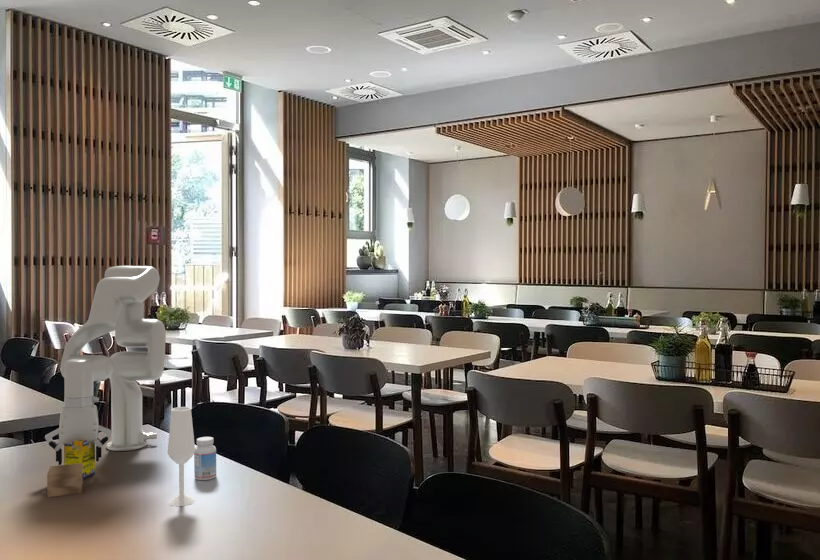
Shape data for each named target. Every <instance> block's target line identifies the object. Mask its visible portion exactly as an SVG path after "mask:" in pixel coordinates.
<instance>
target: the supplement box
mask: <svg viewBox="0 0 820 560" xmlns="http://www.w3.org/2000/svg"><path fill="white" fill-rule="evenodd" d="M63 458H64V459H63V460H64V461H63V465H70V464H80V463H82V474H83V480H84V479H85V478H87V477H90V476H92V475H95V473H96V444H95V443H94V442H93V441H92V442H88V441H87V440H79V441H73V442H72V443H70V444H64V445H63Z"/></svg>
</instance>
